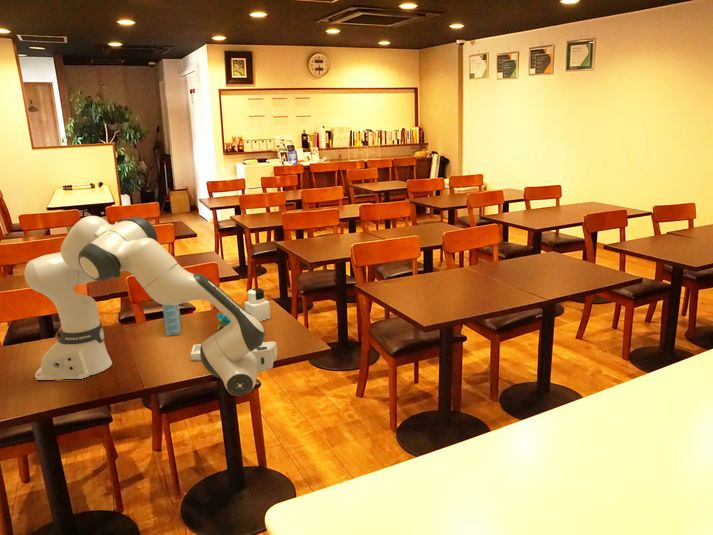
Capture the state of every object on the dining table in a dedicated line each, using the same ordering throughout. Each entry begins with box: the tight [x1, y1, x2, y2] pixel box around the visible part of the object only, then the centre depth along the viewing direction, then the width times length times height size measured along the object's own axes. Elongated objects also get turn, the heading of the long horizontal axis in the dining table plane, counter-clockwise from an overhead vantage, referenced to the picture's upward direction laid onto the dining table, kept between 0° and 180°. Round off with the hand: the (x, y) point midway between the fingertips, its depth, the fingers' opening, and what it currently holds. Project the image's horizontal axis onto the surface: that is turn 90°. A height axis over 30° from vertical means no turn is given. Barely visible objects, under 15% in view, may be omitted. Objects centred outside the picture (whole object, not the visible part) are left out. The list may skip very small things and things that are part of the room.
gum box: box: [159, 267, 181, 337], centre depth 221 cm, size 20×5×23 cm, turn 15°
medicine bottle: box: [244, 287, 272, 322], centre depth 226 cm, size 7×7×12 cm
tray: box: [190, 343, 202, 362], centre depth 196 cm, size 10×8×2 cm
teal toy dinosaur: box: [216, 312, 231, 331], centre depth 216 cm, size 11×6×10 cm
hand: (244, 343), depth 185 cm, fingers open, 8 cm apart
